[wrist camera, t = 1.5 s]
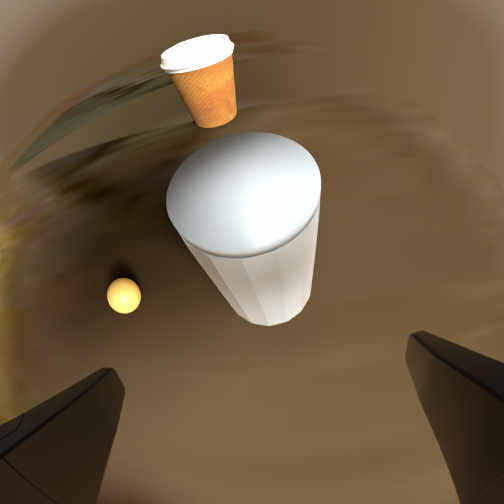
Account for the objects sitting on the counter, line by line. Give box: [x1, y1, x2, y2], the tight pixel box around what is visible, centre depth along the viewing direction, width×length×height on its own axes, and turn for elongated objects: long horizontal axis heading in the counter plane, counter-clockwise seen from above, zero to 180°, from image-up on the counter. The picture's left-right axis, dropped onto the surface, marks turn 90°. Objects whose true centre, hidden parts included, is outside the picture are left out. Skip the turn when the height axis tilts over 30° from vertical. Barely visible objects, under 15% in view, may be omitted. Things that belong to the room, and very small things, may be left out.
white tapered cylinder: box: [166, 132, 321, 326], centre depth 17 cm, size 7×7×12 cm
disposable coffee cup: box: [161, 34, 237, 128], centre depth 31 cm, size 10×10×12 cm
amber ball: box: [107, 278, 141, 313], centre depth 22 cm, size 3×3×3 cm
